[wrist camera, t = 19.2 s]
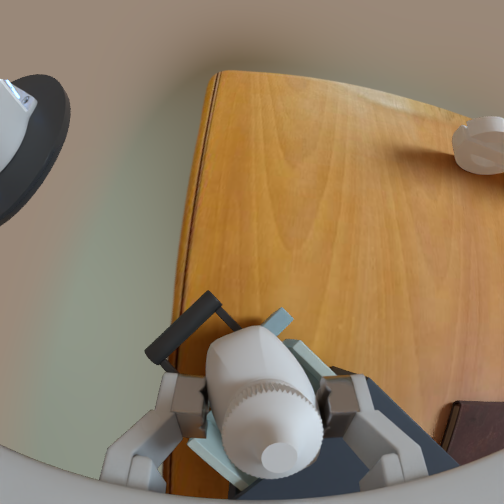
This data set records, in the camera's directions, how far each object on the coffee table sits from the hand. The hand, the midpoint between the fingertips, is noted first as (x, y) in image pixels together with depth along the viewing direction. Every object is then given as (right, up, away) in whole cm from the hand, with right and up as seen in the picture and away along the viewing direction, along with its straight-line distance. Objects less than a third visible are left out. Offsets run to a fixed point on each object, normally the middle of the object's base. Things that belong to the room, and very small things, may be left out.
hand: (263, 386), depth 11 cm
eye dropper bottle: (0, -2, +6) cm, 7 cm away
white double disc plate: (+35, +16, +25) cm, 46 cm away
